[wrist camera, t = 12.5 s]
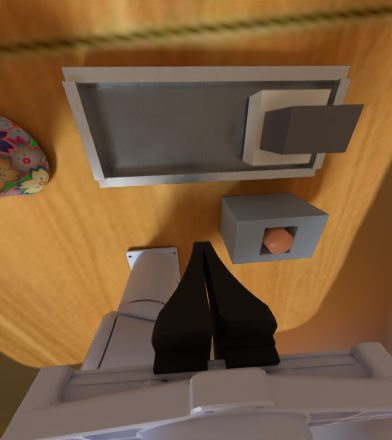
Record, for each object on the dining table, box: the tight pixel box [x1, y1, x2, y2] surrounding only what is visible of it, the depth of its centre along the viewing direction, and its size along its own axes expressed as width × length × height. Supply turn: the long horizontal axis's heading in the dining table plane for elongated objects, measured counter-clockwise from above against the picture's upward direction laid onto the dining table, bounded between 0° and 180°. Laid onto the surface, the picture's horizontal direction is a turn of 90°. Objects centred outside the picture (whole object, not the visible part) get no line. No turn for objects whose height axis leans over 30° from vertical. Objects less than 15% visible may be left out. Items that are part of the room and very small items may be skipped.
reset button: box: [262, 227, 293, 254], centre depth 19 cm, size 3×3×2 cm
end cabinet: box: [220, 193, 329, 264], centre depth 21 cm, size 6×10×7 cm, turn 92°
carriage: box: [243, 89, 364, 166], centre depth 14 cm, size 6×6×7 cm
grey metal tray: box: [61, 66, 352, 188], centre depth 17 cm, size 10×25×3 cm, turn 92°
